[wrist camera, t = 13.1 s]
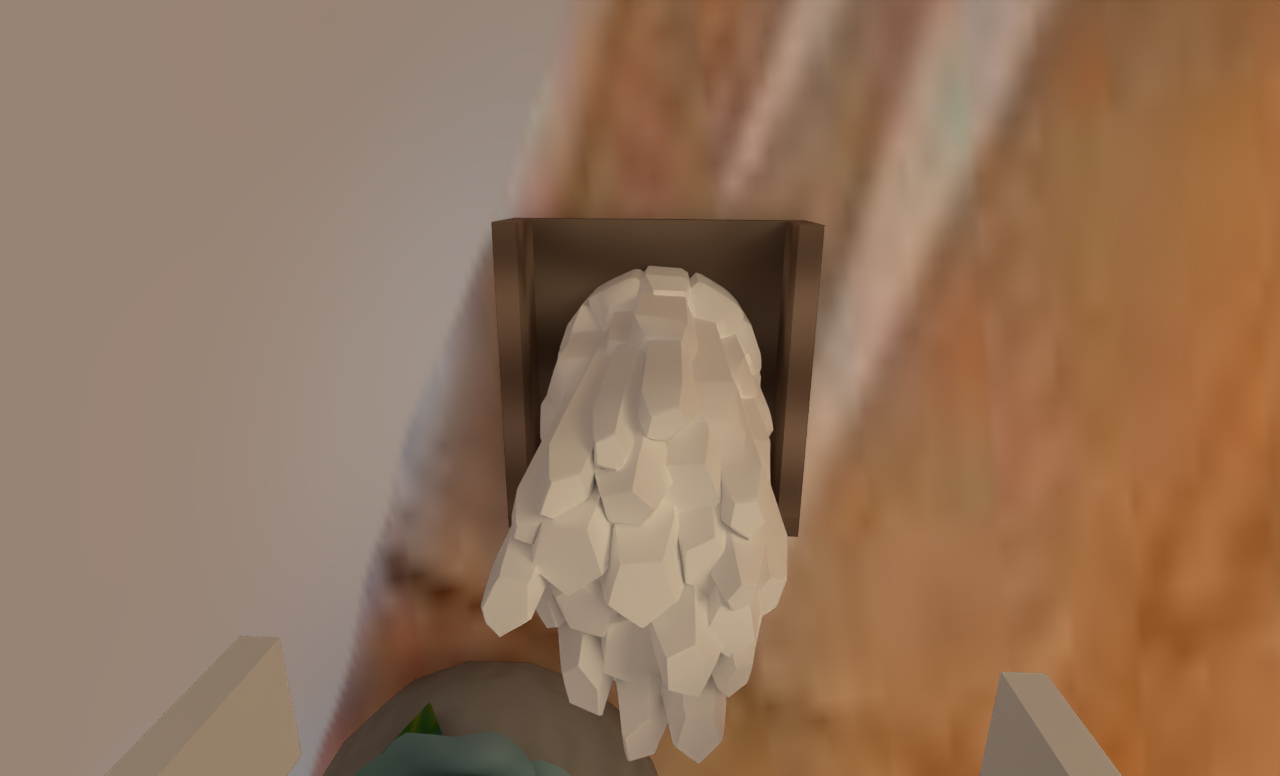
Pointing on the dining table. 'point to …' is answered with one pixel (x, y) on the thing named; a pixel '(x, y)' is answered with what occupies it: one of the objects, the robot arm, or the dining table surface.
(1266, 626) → the dining table surface
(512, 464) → the brown wooden tray
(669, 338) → the decorative vase
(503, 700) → the flower arrangement
